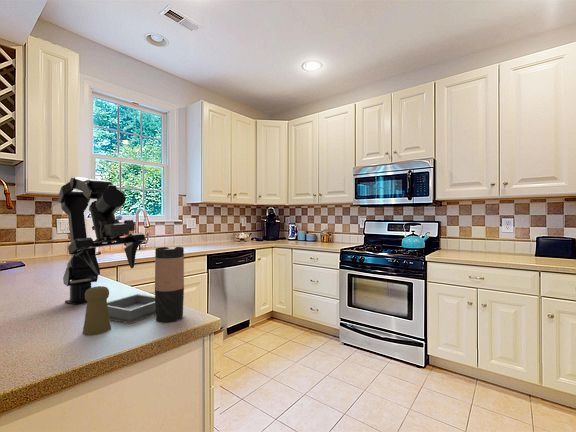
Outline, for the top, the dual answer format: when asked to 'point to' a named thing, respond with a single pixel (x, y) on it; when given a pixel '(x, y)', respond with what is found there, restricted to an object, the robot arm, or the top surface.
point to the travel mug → (169, 284)
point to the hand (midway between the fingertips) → (116, 271)
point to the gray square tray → (131, 308)
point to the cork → (96, 311)
